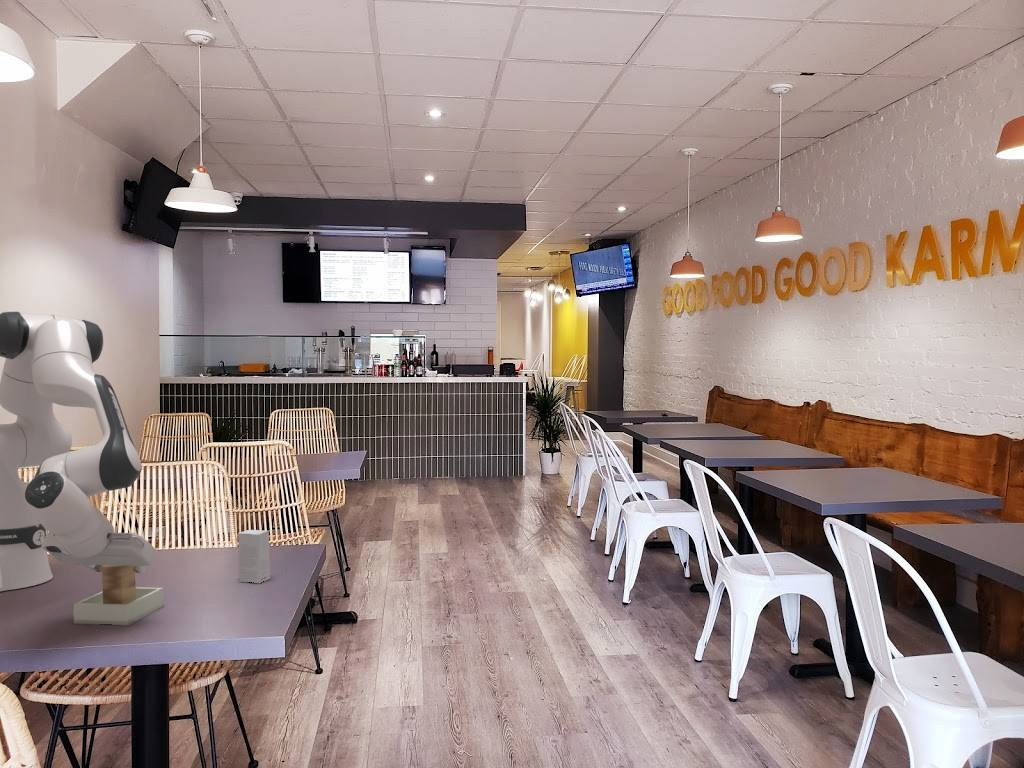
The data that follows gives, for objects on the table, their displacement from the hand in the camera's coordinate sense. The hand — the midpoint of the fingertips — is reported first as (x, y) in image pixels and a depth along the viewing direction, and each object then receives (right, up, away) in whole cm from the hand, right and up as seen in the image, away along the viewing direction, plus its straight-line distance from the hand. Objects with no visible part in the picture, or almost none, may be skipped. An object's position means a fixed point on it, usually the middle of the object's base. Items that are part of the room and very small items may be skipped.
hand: (120, 569), depth 156 cm
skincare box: (+20, -9, +23) cm, 32 cm away
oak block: (0, -9, 0) cm, 9 cm away
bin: (0, -9, 0) cm, 9 cm away
